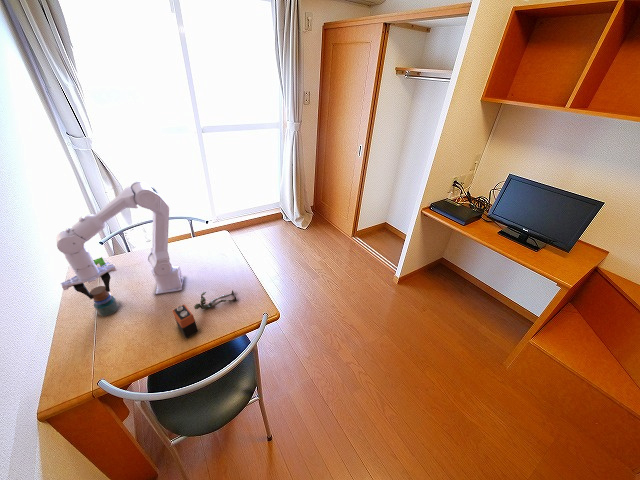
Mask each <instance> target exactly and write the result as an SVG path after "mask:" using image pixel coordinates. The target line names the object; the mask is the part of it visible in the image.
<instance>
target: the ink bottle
mask: <svg viewBox="0 0 640 480" xmlns="http://www.w3.org/2000/svg"><path fill="white" fill-rule="evenodd" d="M119 307H120V304H119V302H118V301H117V299H116V297H115V296H114V295H111V293H109V296H108V297H107V298H106V299H104V300H102V301H94V300H93V308H94V309H95V312H96V313H97V314H98V315H99V316H101V317H106V316H110V315H113V314H114V313H115V312H116V311H117V310H119Z"/></svg>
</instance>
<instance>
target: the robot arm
mask: <svg viewBox="0 0 640 480" xmlns="http://www.w3.org/2000/svg"><path fill="white" fill-rule="evenodd" d="M137 205H138V206H139V207H141V208H144V209H147V210H150V211H151V212H152V242H151V243H152V246H151V248H150V253H149V254H148V256H147V261H148V262H149V264H150V266H151V274H152V276H153V278H154V281H155V284H156V290H155V294H156V295H159V294H165V293H172V292H178V291H182V289H183V285H184V276H183V273H182V270H181V267H180V266H179V265H178V266H175V265H172V263H171V261H170V260H171V259H170V255H169V227H170V225H169V224H170V221H169V220H170V206H169V205H168V203H167V202H166V201H165V200H164V198H163V197H162V196H161V195H160V194H159V192H158V191H157V190H156V188H155V187H153V186H152V185H150V184H149V183H147V182H146V181H143V180H140V181H135V182H133V183H132V184H131V185H130V186H126V188H124V190H122V191H121V192H120V193H119V194H118V195H117V196H116V197H115V198H113V199H112V200H111V201H109V202H108V203H107V204H106V205H104V206H103V207H102V208H101V209H100V210H99V211H98V212H96V213H95V214H87V215H85V216H80V217H79V218H78V221H77V222H76V223H74V224H72V226H71V227H66V228H65V229H64V230H61V231H60V232H59V233H58V234H57V235H56V247H57V250H58V251H59V252H60V253H62V254H63V256H64V258H65V259H66V261H67V263H68V264H69V266H70V268H71V270H72V272H74V274H75V275H74V276H72V277H70V278H69V279H67V280H65V281H63V282H60V286H61V288H62V290H63V291H67V290H69V288H72V287H73V288H74V290H75V291H76V292H79V293H81V294H83V295H85V296H86V297H88V299H89V300H94V299H93V297H92V296H91V294H90V290H89V289H88V288H87V287H86V285H85V283H88V284H89V283H93V282H95V281H96V280H97V279H98V278H99V277H100V278H101V280H102V282H103V286H105V287H106V289H107V291H108V292H109V293H110V292H111V289H110V281H111V278H112V277H111V275H110V273H111V272H112V273H114V272H116V271H117V269H116V266H115V264H114V263H110V264H107V266H103V267H98V268H97V266H96V264H95V263H94V261H93V260H94V259H93V257H92V256H91V253H90V252H89V249H88V248H87V247H86V246H85V243H87V242H88V241H90V240H91V239H92V238H93V237H95V236H96V235H97V234H99V233H100V232H101V231H103V230H105V227H106V225H105V223H106V222H107V221H109V220H110V219H113V218H114V217H115V216H116V215H118V214H119V213H121V212H122V211H125V209H138V208H139V207H138V206H137Z"/></svg>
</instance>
